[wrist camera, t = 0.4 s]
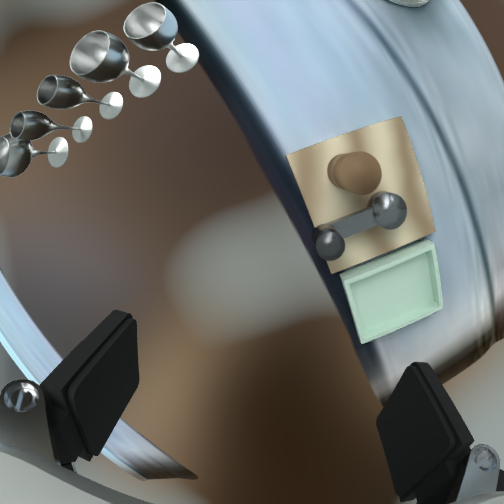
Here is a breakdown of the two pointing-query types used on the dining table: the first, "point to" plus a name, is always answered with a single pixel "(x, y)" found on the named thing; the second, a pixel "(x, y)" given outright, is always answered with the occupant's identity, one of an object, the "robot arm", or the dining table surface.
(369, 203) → the crank
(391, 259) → the tray
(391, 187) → the plate
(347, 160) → the peg
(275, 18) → the dining table surface
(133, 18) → the goblet set
